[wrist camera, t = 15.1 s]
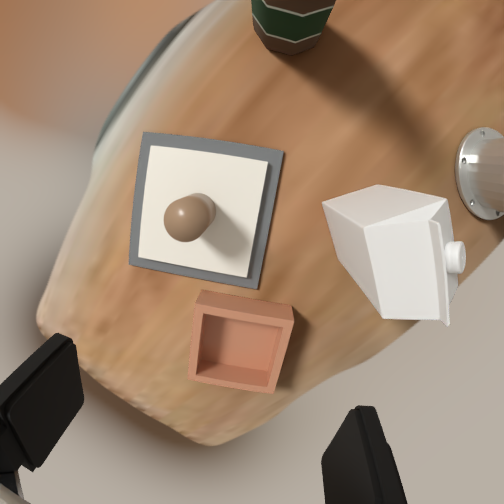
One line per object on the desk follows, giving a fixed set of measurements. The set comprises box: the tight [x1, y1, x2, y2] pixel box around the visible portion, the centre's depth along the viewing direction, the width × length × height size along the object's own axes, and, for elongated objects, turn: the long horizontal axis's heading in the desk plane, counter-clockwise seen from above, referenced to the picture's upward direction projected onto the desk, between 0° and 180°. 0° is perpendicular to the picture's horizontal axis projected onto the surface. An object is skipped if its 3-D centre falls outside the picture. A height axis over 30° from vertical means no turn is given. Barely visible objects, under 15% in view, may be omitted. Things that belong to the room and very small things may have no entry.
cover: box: [138, 145, 268, 278], centre depth 30 cm, size 13×13×7 cm
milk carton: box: [322, 185, 466, 327], centre depth 25 cm, size 7×7×19 cm
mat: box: [129, 132, 284, 289], centre depth 34 cm, size 16×16×1 cm
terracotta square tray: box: [188, 290, 294, 394], centre depth 36 cm, size 11×11×4 cm
